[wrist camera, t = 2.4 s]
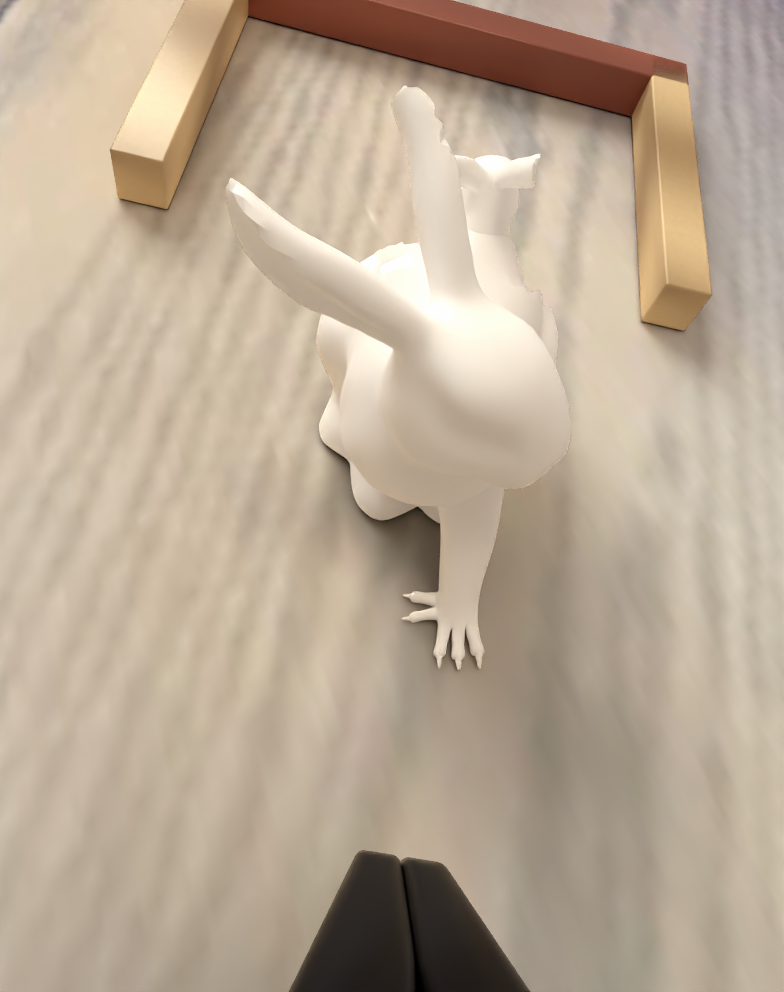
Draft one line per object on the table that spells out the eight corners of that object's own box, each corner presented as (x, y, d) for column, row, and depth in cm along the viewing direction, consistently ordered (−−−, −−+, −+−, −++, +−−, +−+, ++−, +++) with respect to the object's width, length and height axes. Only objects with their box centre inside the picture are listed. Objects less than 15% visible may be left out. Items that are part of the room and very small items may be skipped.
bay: (684, 332, 26) (713, 295, 24) (117, 198, 24) (109, 149, 22) (665, 104, 32) (687, 62, 30) (217, -15, 30) (216, -65, 29)
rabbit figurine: (478, 681, 18) (679, 496, 10) (178, 601, 18) (126, 339, 10) (532, 326, 24) (686, 25, 16) (308, 260, 24) (346, -84, 16)
